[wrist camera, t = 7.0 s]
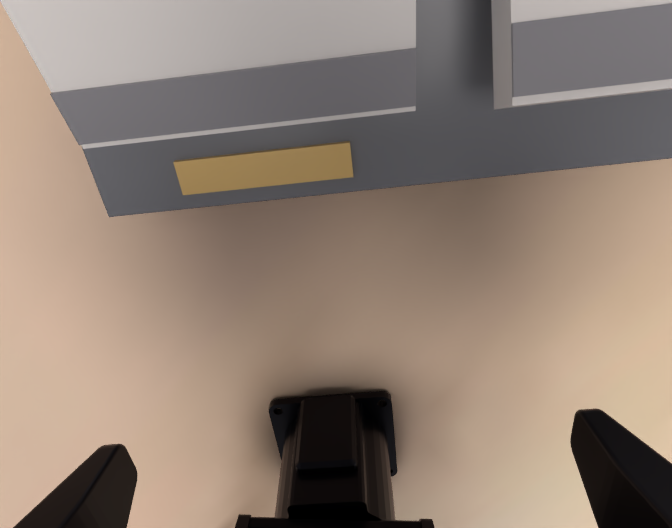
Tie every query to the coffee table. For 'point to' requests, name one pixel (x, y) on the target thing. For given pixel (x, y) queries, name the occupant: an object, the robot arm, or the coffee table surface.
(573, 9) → the grey flat slab
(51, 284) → the coffee table surface
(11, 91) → the coffee table surface
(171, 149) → the switch unit
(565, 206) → the coffee table surface
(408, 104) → the rocker
